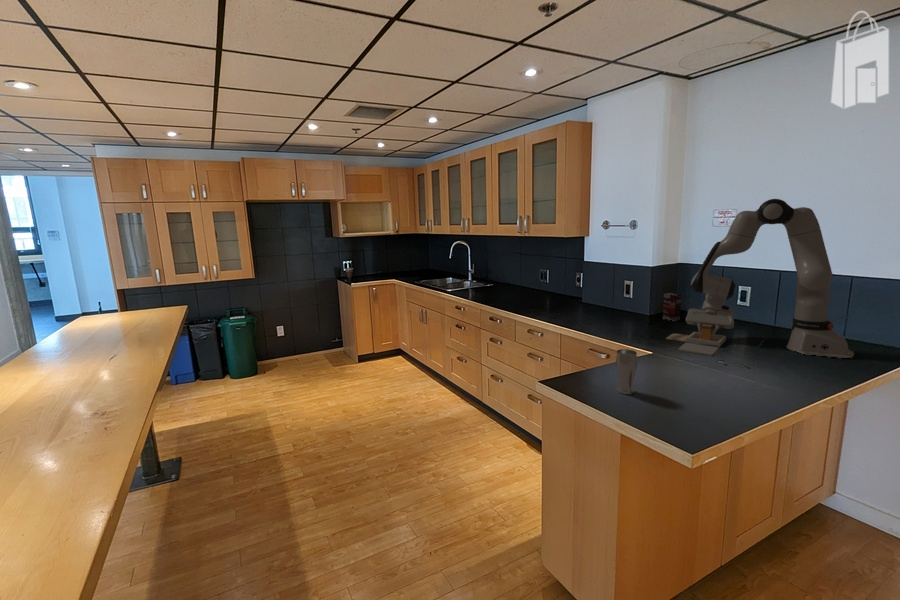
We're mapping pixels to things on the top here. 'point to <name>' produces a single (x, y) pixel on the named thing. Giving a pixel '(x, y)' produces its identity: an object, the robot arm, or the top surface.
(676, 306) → the supplement box
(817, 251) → the robot arm
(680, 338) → the pad
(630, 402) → the top surface
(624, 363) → the beer glass
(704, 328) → the block
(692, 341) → the case
